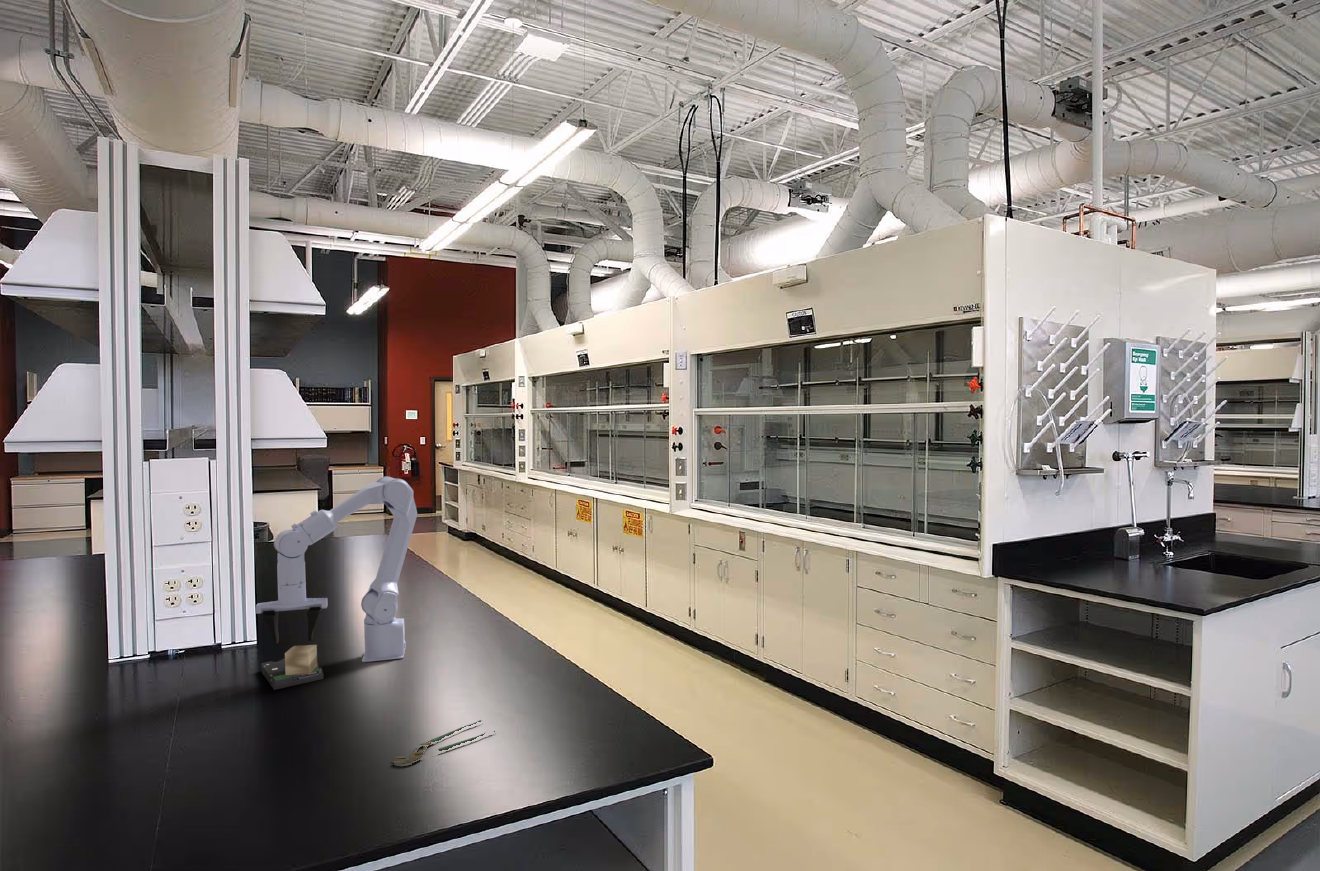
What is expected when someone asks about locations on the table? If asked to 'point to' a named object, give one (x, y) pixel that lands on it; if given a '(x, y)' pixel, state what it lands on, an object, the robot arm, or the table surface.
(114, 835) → the table surface
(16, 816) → the table surface
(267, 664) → the disk drive
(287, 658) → the maple cube
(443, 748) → the pliers
